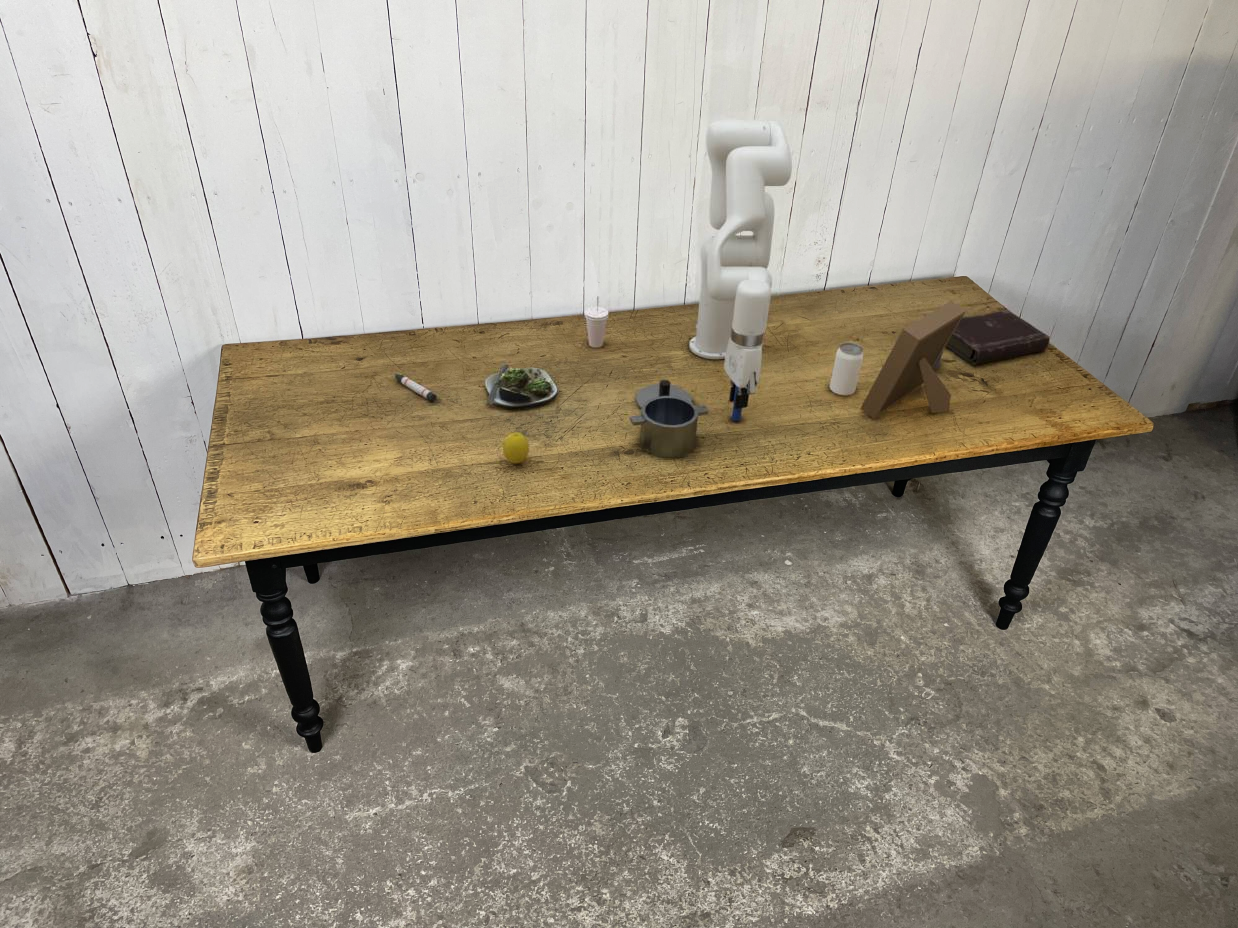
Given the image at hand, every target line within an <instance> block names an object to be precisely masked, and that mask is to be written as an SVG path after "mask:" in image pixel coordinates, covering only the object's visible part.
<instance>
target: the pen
mask: <svg viewBox="0 0 1238 928" xmlns="http://www.w3.org/2000/svg"><path fill="white" fill-rule="evenodd" d="M744 388H746V386H745V387H744ZM744 388H743V389H744ZM737 393H738V387H737V386H736V389H735V396H734V402H732V403H733V404H732V411H731V413H732V414H731V420H732V421H733V422H740V421H741V419H742V415H743V414H742V413H743V408H739V409H735V407H734V404H735V397H736V394H737Z"/></svg>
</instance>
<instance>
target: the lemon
mask: <svg viewBox="0 0 1238 928" xmlns="http://www.w3.org/2000/svg"><path fill="white" fill-rule="evenodd" d="M502 451H503V455H504V457H505V459H506V460H507V461H508V462H510V463H512V464H520V463H523V462H524V461H525V460H526V459H527V458H528V456H529V452H530V447H529V442H528V439H527V437H526V436H525V435H524V434H523V433H521V432H520V433H519V432H511V433H509V434H508V435H507V436H506V437H505V439H504V441H503V445H502Z"/></svg>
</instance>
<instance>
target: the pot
mask: <svg viewBox="0 0 1238 928" xmlns="http://www.w3.org/2000/svg"><path fill="white" fill-rule="evenodd" d="M706 415H709V409H708V408H707V406H706V405H705V404H704V405H697V406H696V405H695V404H694V403H693V402H690V401H688V400H686V399H683V398H680V397H676V396H660V397H654V398H652V399H650V400H648V401H646V402H645V404H644V405H643V406H642V409H641V413H640V414H637V415H631V416H629V421H630V423H631V424H632V426H640V431H639V444H640V446H641V448H643V450H644V451H645V452H647V453H649V454H650V455H652V456H655V457H658V458H664V459H677V458H681V457H684V456H687V455H688V454H690V453H691V452H692V451H693V450H694V449H695V446H696V440H697V431H698V430H697V428H698V420H699V419H698V418H699V417H700V416H706Z"/></svg>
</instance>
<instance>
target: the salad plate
mask: <svg viewBox="0 0 1238 928" xmlns="http://www.w3.org/2000/svg"><path fill="white" fill-rule="evenodd" d="M484 384H485V388H486V390H487V392H488V396H487V399H486V400H487V401H486V402H487V403H488V404H490V405H496V406H498V407H500V408H502V409H504V410H509V411H520V410H529V409H536V408H540V407H542V406H546V405H548V404H550V403H551V402H552V401H553V400H554V399H555V398H556V397H557V395H558V387H557V385H556V384H555V382H554V381H553V379H552V378H551V376H550V375H549V373H548V372H547V371H545V370H544V369H541V368H537V367H525V368H513V367H512V366H511V367H510V366H509V364H507V363H504V364H502V365H501V366H500V370H499V371H498V372H497V373H494V374H491V375H489V376H488V378H486V379H485V382H484Z"/></svg>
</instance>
